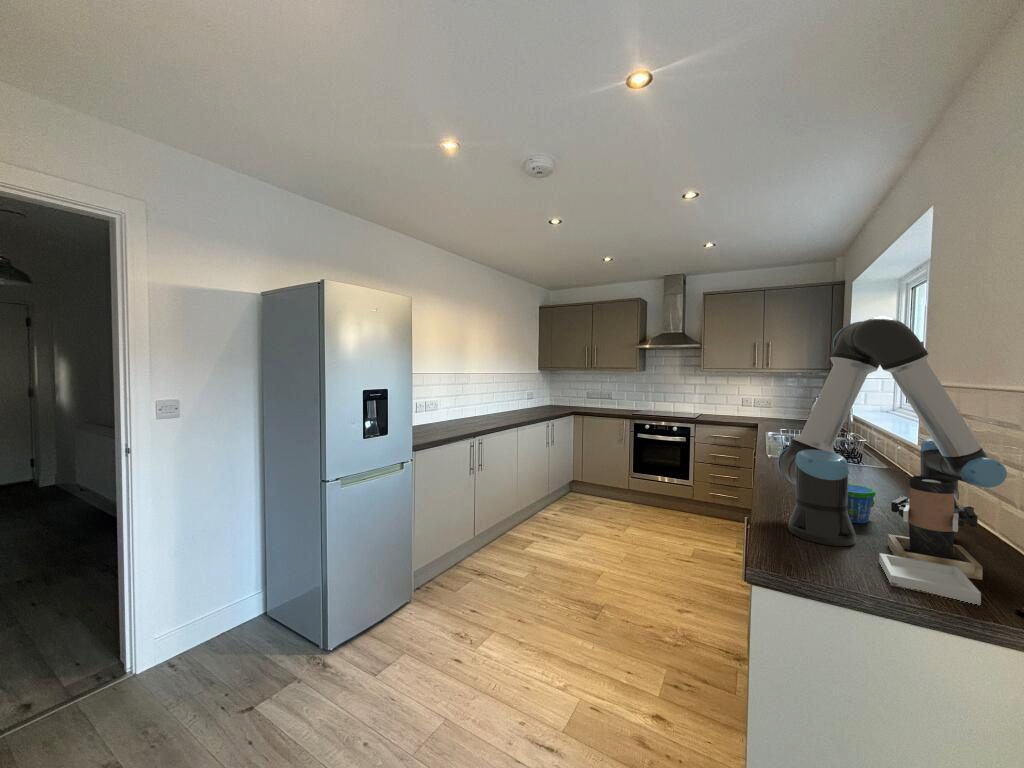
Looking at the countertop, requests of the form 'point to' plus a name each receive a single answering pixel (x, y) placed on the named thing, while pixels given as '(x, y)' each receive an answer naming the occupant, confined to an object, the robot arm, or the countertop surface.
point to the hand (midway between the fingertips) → (929, 520)
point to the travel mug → (931, 516)
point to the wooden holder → (963, 557)
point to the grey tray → (929, 578)
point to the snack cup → (860, 503)
